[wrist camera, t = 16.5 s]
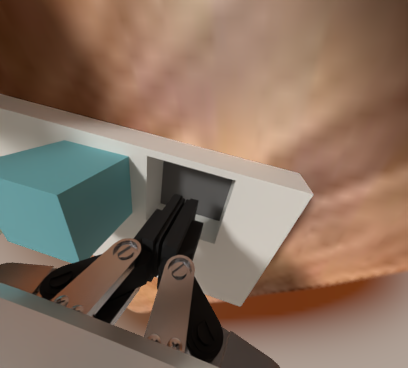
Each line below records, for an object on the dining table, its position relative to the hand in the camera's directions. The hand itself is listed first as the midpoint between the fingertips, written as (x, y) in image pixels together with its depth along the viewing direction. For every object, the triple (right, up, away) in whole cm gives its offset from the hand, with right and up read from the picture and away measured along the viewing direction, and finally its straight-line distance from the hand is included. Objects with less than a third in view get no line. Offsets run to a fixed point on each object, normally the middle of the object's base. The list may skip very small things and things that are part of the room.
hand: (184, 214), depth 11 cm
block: (-7, +2, +2) cm, 7 cm away
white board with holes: (-6, +1, +6) cm, 9 cm away
